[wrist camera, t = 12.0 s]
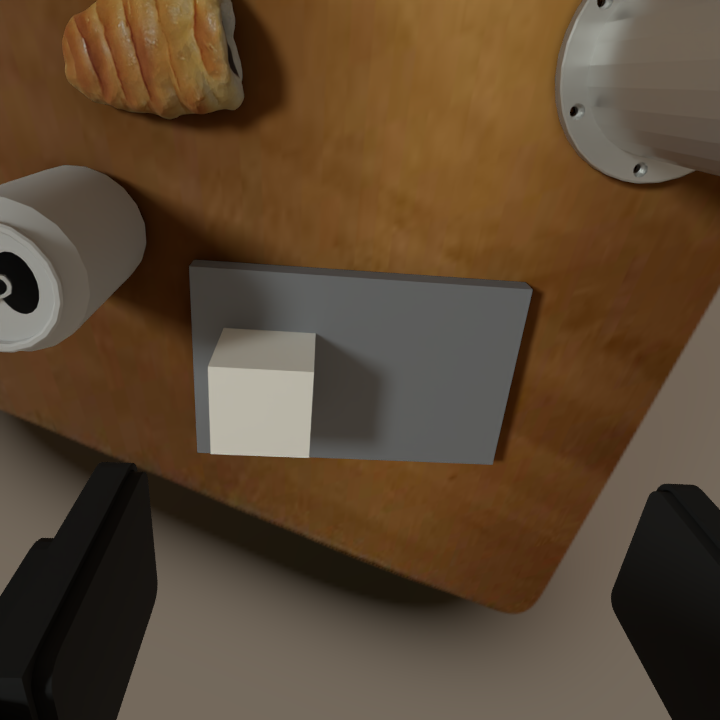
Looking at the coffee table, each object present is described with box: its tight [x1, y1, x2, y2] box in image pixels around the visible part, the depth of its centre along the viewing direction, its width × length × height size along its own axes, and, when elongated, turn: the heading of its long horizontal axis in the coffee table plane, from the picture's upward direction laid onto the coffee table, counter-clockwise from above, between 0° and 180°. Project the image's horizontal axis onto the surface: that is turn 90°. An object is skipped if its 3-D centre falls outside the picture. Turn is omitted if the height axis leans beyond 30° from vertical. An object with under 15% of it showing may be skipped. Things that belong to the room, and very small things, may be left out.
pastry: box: [62, 0, 244, 119], centre depth 30 cm, size 9×7×4 cm
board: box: [189, 260, 533, 465], centre depth 40 cm, size 22×14×2 cm, turn 85°
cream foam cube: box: [208, 328, 316, 458], centre depth 36 cm, size 6×6×6 cm
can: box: [0, 165, 146, 352], centre depth 30 cm, size 8×8×12 cm
